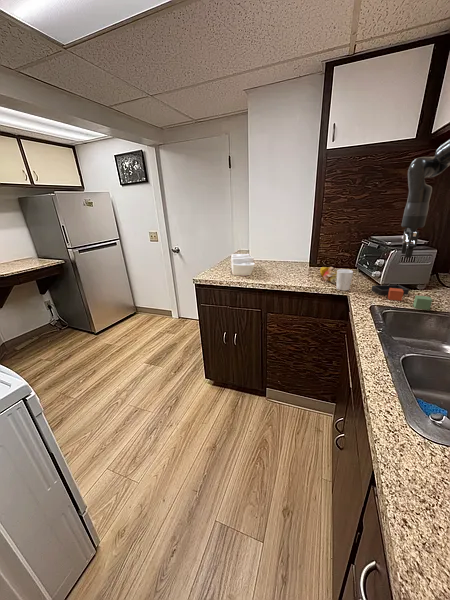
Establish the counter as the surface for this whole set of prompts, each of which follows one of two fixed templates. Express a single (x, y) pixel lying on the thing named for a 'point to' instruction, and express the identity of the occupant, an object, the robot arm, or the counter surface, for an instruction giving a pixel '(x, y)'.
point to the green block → (422, 302)
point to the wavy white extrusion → (242, 264)
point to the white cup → (344, 279)
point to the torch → (328, 274)
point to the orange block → (395, 294)
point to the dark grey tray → (387, 289)
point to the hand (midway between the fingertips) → (406, 255)
